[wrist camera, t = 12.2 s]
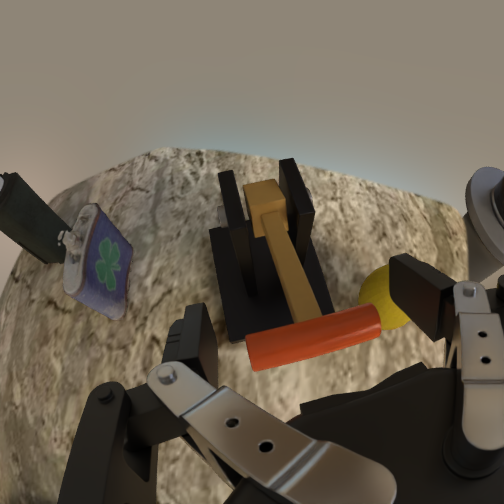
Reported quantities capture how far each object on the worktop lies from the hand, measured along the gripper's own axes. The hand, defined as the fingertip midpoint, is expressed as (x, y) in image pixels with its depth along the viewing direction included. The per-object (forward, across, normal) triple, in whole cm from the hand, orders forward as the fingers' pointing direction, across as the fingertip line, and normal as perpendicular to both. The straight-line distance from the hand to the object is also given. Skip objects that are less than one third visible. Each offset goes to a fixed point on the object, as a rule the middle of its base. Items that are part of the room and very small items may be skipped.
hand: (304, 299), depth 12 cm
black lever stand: (+17, 0, +6) cm, 18 cm away
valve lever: (+4, 0, 0) cm, 5 cm away
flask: (+19, +16, +4) cm, 25 cm away
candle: (+24, +26, -1) cm, 35 cm away
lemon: (+13, -10, +11) cm, 19 cm away
